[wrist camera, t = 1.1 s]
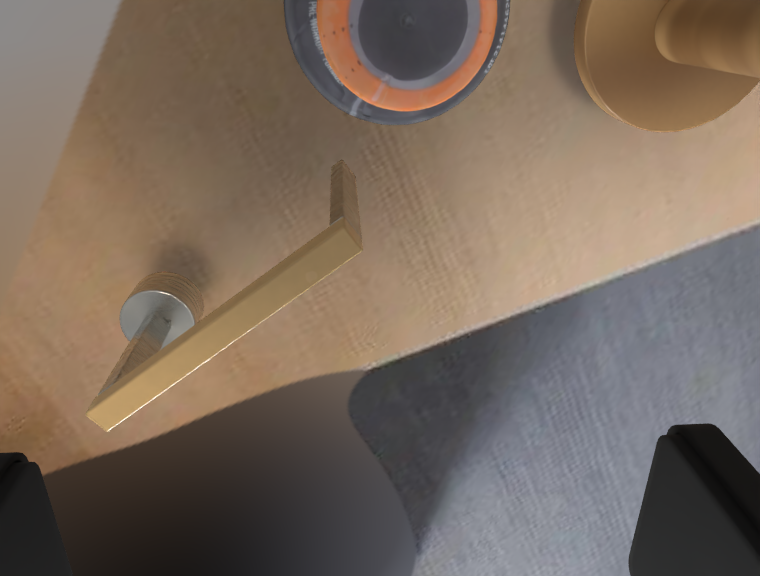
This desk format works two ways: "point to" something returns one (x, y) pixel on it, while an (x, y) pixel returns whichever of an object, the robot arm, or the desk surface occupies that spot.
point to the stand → (667, 58)
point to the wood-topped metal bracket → (215, 311)
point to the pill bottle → (396, 53)
